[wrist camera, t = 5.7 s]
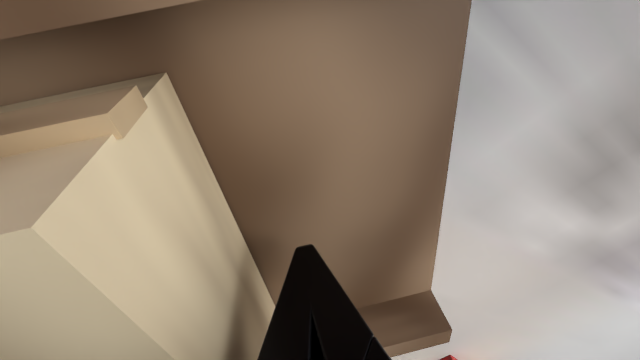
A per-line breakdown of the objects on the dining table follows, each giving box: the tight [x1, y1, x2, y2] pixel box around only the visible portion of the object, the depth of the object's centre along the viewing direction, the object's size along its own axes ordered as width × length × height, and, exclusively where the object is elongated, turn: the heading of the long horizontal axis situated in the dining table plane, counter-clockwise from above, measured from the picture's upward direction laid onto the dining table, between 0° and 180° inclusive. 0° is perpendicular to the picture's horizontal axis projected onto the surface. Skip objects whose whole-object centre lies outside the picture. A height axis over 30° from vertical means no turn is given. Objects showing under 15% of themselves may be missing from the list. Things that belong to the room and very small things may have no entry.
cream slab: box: [0, 72, 275, 360], centre depth 8 cm, size 8×12×5 cm
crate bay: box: [0, 0, 472, 357], centre depth 9 cm, size 17×16×4 cm
